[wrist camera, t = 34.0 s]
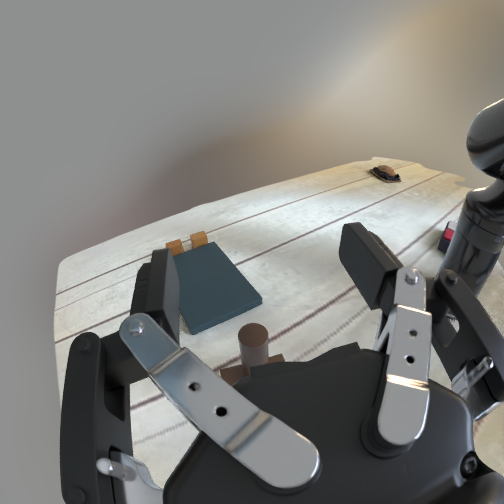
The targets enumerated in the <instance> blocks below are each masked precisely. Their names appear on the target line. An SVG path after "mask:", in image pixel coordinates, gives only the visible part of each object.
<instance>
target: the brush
mask: <svg viewBox="0 0 504 504" xmlns="http://www.w3.org/2000/svg"><path fill="white" fill-rule="evenodd" d="M238 340H239V346H240V352H241V359H242V365H238V366H234V367H230V368H226V369H221V370H220V373H221V377H222V379H223V380H224V381H225V382H226V383H228V384H229V385H230V386H232V385H233V384H234V383H236V382H237V381H238V380H240V379H242V378H244V377H246V376H248V375H250V369H249V367H252V366H258V365H263V364H268V363H273V362H285V360H284V357H283V355H282V354H279V355H275V356H272V357H268V331H267V329H266V328H265V327H264V326H262V325H260V324H257V323H250V324H247V325H245V326H243V327H242V328H241V329H240V331H239V333H238Z"/></svg>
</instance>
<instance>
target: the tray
mask: <svg viewBox="0 0 504 504" xmlns="http://www.w3.org/2000/svg"><path fill="white" fill-rule="evenodd" d="M173 260H174V263H175V267H176V270H177V274H178V278H179V287H180V291H179V310H180V312H181V314H182V316H183V318H184V320H185V322H186V324H187V326H188V328H189V330H190V332H191V334H192V335H194V334H197V333H199V332H201V331H204V330H206V329H208V328H210V327H213V326H215V325H217V324H219V323H222V322H224V321H226V320H228V319H231V318H233V317H235V316H237V315H239V314H241V313H244V312H246V311H248V310H250V309H252V308H254V307H256V306H258V305H261V304H262V297H261V296H260V295H259V293H258V292H257V291H256V290H255V289H254V288H253V287H252V285H251V284H250V283H249V282H248V281H247V280H246V278H245V277H244V276H243V275H242V274H241V273H240V271H239V270H238V269H237V268H236V267H235V266H234V264H233V263H232V262H231V261H230V260H229V258H228V257H227V256H226V255H225V254H224V253H223V251H222V250H221V249H220V248H219V247H218V245H217V244H216V243H215V242H211V243H208V244H206V245H203V246H200V247H197V248H195V249H192V250H189V251H186V252H184V253H181V254H178V255H176V256H173Z"/></svg>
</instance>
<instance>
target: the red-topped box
mask: <svg viewBox="0 0 504 504" xmlns="http://www.w3.org/2000/svg"><path fill="white" fill-rule="evenodd" d="M456 225H457V223H455V222H453V221H450V222H448V223H447V226H446V228H445V230H444V233H443V235H442V237H441V240H440V243H439V246H438V249H439V250H441V251H443V252H445V253H446V252H447V249H448V247H449V244H450V242H451V239H452V237H453V234H454V231H455V228H456Z"/></svg>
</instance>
